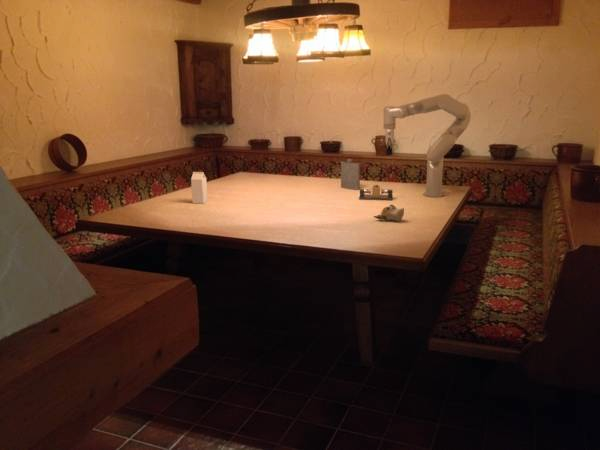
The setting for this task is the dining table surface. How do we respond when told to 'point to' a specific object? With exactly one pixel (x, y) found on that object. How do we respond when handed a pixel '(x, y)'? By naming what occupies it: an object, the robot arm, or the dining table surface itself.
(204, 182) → the milk carton
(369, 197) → the shaft rig
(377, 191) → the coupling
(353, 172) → the hip flask
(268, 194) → the dining table surface
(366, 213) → the dining table surface
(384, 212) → the ceramic sculpture
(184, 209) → the dining table surface
